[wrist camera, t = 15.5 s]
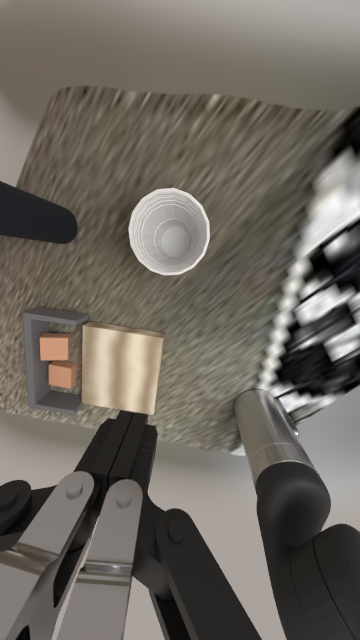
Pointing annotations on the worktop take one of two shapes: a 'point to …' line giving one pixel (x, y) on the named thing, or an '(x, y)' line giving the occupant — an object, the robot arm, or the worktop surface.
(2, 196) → the wine bottle
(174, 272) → the plastic cup
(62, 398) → the box
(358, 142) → the worktop surface
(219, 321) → the worktop surface
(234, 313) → the worktop surface
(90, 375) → the birch board
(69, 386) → the terracotta tile
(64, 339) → the terracotta tile
